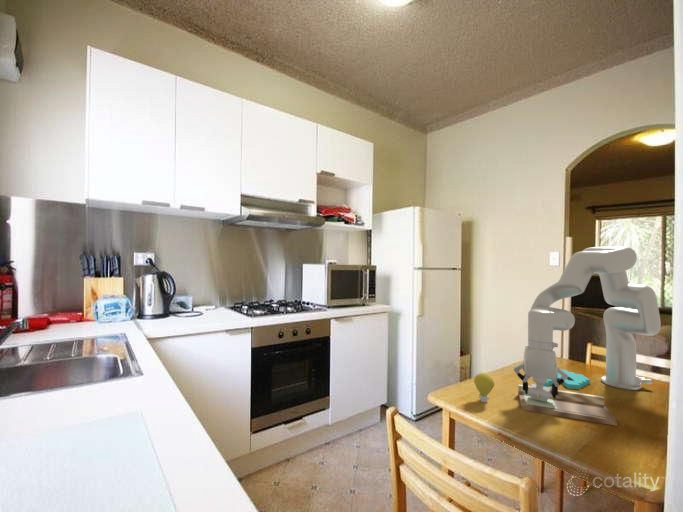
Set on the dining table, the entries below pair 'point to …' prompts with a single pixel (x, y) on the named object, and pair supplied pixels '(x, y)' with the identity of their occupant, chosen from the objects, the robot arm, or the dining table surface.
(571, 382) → the teal pixel sprite
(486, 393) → the light bulb
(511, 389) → the dining table surface
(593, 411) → the brown piece
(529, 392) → the stamp
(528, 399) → the end mark
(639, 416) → the dining table surface
